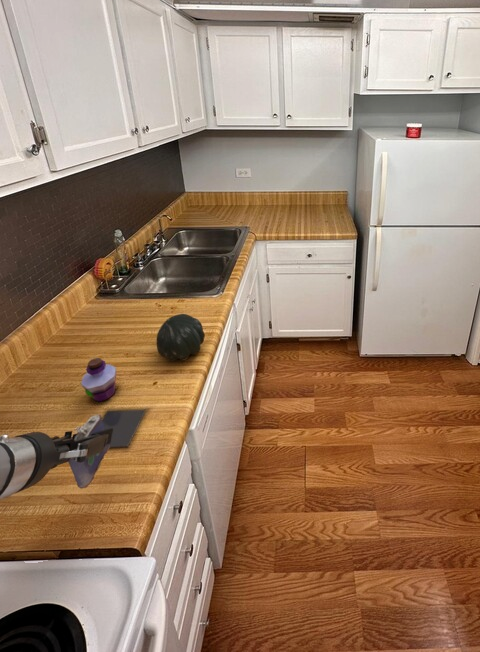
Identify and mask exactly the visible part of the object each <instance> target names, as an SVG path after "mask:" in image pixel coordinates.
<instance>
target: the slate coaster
mask: <svg viewBox="0 0 480 652" xmlns="http://www.w3.org/2000/svg"><path fill="white" fill-rule="evenodd" d="M146 411H147V410H146V409H132V410H130V409H129V410H128V409H127V410H108V411H107V412H106V413H105V415H104V416H103V418H102V421H103V426H104V429H105V430H106V429H109V428H113V432H112V438H111V443H109V445H110V448H109V449H115V448H117V449H118V448H129V446H130V444H131V442H132V439H133V438H134V436H135V433H136V432H137V429H138V428H139V426H140V424H141V421H142V420H143V417H144V416H145V414H146Z"/></svg>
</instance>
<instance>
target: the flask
mask: <svg viewBox="0 0 480 652" xmlns="http://www.w3.org/2000/svg"><path fill="white" fill-rule="evenodd" d="M102 420H103V418H102V415H101V414H93V415H92V416H90V417H89V418H88V419H87V421H86V422H85V423H84V424H83V425H81V426H80V425H77V426H76V427H75V428H74V431H73V434H76V433H77V435H76V437H75V438H74V440H76V439H80V438H84V437H88V436H91V435H92V434H93V433H96V432H99V431H103V430H105V429H104V426H103V421H102ZM110 449H111V448H110V445H109V444H107V445H106V446H105V450H103V451H101V452H99V453H97V454H95V455H93V456H91V457H89V458H87V459H86V461H83V462H81V463H79V462H77V461H74V458H75V457H72V458H71V459H70V460H69V461H68V462H67V463H68V465H69V467H70V469H71V472H72V475H73V477H74V479H75V482H76V485H77V488H79V489H87V488H88V486H90V484H92V482H93V481H94V479H95V475H96V473H97V472H98V470H99V469H100V467H101V465H102V461H103V460H104V457H105V455H106V454H107V453H108V451H109V450H110Z"/></svg>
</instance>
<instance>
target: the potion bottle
mask: <svg viewBox="0 0 480 652" xmlns="http://www.w3.org/2000/svg"><path fill="white" fill-rule="evenodd" d="M85 370H86V373H85V374H83V377H82V379H81V383H80V386H81V387H82V388H83V389H84V392H85V394H86V395H87V396H88V397H90V398H93V401H95V402H96V403H99V404H100V403H103V402H106V401H109V400H110V399H111V398H112V397H113V396H115V394H116V391H117V388H116V379H117V367H116V366H113V365H112V364H109V363H108V364H106V361H105V360H103V359H102V358H101V357H95V358H91V359H90V360H89V361H88V363H87V366H86V369H85Z"/></svg>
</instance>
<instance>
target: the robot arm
mask: <svg viewBox="0 0 480 652" xmlns="http://www.w3.org/2000/svg"><path fill="white" fill-rule="evenodd" d="M112 432H113V428H109V429H106V430H103V431H99V432H96V433H93V434H92V435H91V436H88V437H84V438H80V439H76V440H74V438H75V437H76V435H77V433H78V432H75V433H73V430H68V431H65V432H64V435H63V436H61V437H60V436H58V435H55V436H52V437H51V436H50V435H48V434H47V433H44V432H42V431H33V432H32V431H31V432H28V433H23V434H18V435H15V436H12V437H10V435H9V434H6V433H5V434H2V435H0V501H2V500H5V499H7V498H9V497H11V496H13V495H15V494H18V493H20V492H22V491H25V490H27V489H29V488H31V487H34V486H35V485H37V484H38V483H40V482H41V481H42V480H43V479H44V478H45V477H46V476H47V475H48V473H49V472H50V471H51V470H52V469H55V468H57V467H58V465H59V466H60V465H62V464H65V463H69V462H68V461H69V460H70V459H71V458H72V457H75V458H74V461H77V462H79V463H81V462H83V461H86V459H87V458H89V457H91V456H93V455H95V454H97V453H99V452H101V451H103V450H105V446H106V445H107V444H109V443H111V438H112Z"/></svg>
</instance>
